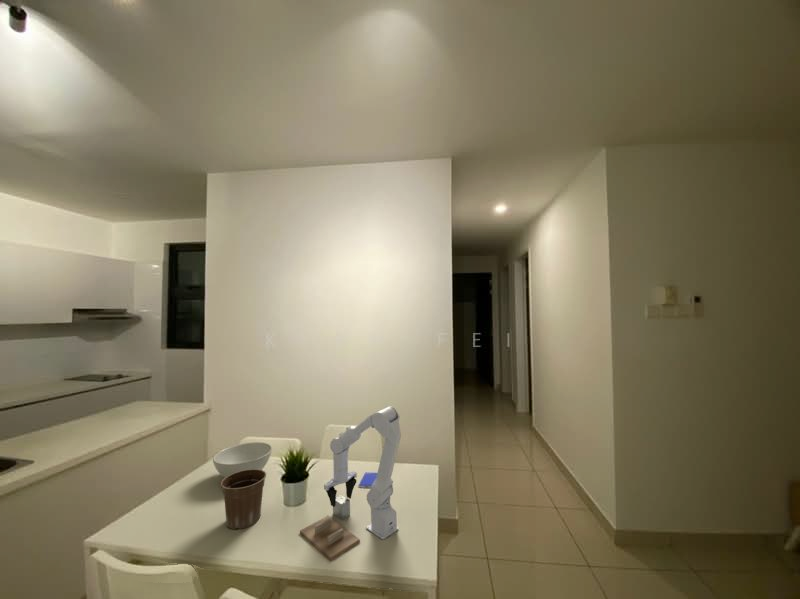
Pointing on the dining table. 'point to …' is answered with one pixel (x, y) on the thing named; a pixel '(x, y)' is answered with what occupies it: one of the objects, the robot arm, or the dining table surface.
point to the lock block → (342, 507)
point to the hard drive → (367, 480)
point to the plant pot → (243, 497)
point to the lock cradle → (329, 537)
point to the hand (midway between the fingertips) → (341, 501)
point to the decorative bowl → (242, 458)
